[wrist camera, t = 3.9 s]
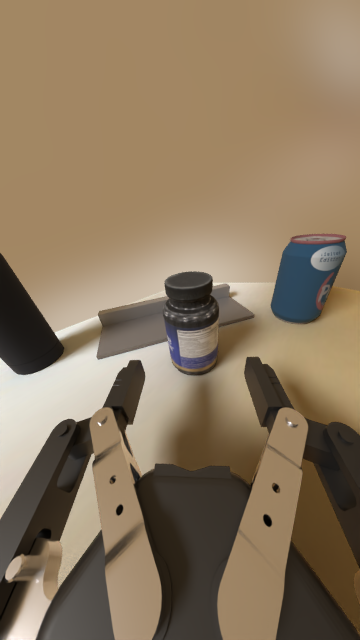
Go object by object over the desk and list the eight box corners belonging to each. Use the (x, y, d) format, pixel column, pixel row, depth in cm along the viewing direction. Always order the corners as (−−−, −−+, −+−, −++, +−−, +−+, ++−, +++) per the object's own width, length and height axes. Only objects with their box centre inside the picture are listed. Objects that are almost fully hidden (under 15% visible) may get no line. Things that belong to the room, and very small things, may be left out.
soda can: (322, 329, 24) (365, 239, 17) (269, 323, 26) (288, 243, 20) (312, 307, 29) (341, 231, 22) (268, 303, 32) (283, 235, 25)
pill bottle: (173, 344, 24) (160, 272, 18) (213, 341, 24) (214, 266, 18) (170, 378, 19) (152, 294, 13) (221, 376, 19) (227, 287, 13)
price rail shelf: (224, 296, 36) (225, 283, 35) (253, 317, 28) (256, 302, 27) (104, 324, 32) (99, 310, 30) (98, 359, 23) (89, 343, 22)
